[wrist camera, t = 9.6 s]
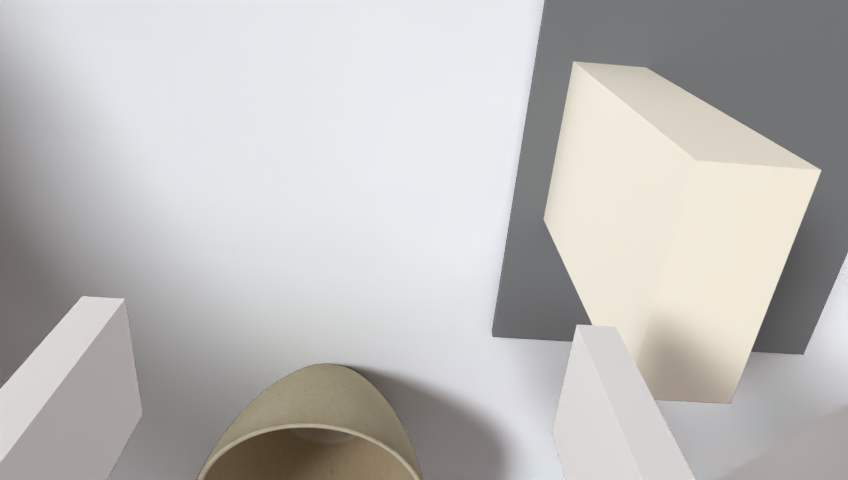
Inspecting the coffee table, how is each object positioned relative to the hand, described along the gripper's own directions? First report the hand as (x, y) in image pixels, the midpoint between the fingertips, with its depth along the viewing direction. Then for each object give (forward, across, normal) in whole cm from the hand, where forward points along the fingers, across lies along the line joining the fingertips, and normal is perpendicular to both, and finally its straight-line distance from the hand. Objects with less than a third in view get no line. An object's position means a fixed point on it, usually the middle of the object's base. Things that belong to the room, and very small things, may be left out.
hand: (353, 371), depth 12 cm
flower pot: (+17, -2, -15) cm, 22 cm away
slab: (+16, +9, 0) cm, 18 cm away
